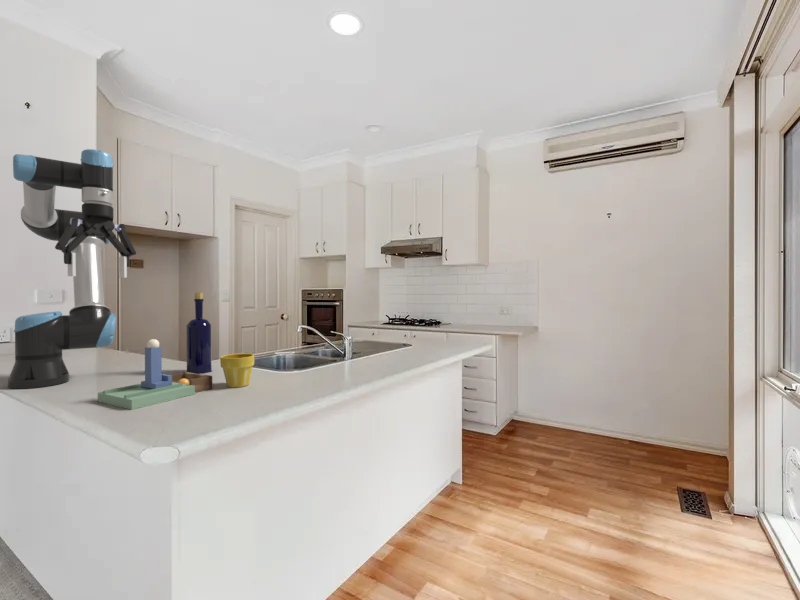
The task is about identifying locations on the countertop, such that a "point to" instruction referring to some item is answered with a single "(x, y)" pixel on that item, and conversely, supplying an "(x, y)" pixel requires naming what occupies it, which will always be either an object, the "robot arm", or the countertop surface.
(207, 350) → the bottle
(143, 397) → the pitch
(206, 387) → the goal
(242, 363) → the plant pot
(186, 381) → the ball
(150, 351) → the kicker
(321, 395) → the countertop surface
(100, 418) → the countertop surface
